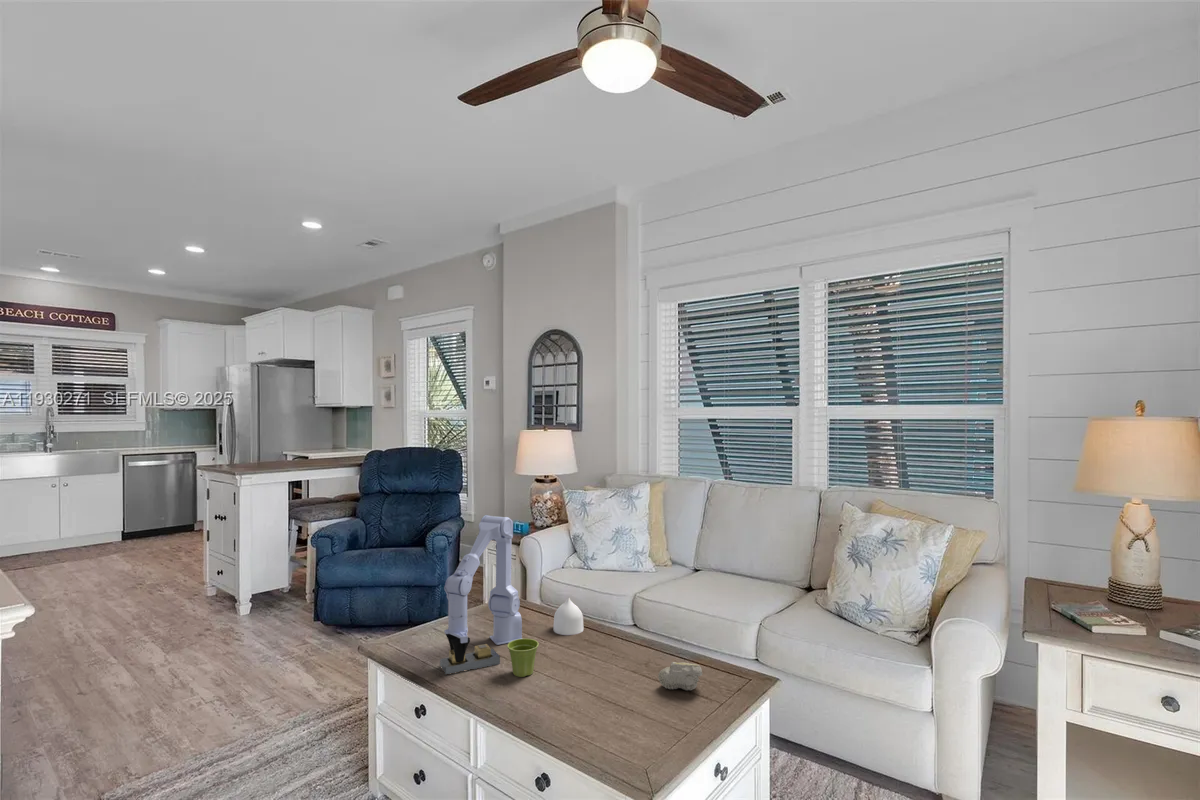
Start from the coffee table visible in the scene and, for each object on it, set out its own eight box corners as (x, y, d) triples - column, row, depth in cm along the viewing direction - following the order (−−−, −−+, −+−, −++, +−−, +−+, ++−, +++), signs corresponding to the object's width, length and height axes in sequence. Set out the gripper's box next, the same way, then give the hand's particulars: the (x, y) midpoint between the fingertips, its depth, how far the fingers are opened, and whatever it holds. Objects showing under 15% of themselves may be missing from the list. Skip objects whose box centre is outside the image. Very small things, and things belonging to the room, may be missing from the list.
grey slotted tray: (492, 656, 195) (492, 648, 195) (499, 664, 189) (499, 656, 189) (440, 666, 187) (440, 659, 187) (445, 675, 181) (446, 667, 181)
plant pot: (533, 681, 177) (533, 651, 177) (502, 678, 179) (502, 649, 179) (542, 667, 186) (542, 639, 186) (513, 665, 188) (513, 637, 188)
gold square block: (461, 663, 189) (461, 647, 189) (465, 668, 185) (465, 651, 185) (448, 666, 187) (448, 649, 187) (452, 671, 183) (452, 654, 183)
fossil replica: (654, 683, 177) (667, 702, 167) (653, 656, 176) (666, 673, 166) (692, 675, 180) (707, 693, 170) (691, 648, 179) (706, 665, 169)
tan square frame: (486, 659, 193) (486, 643, 193) (490, 664, 189) (490, 647, 189) (474, 662, 191) (474, 645, 191) (478, 666, 187) (478, 649, 187)
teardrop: (566, 637, 211) (566, 603, 211) (547, 629, 219) (547, 596, 219) (589, 630, 219) (590, 597, 219) (570, 622, 227) (570, 590, 227)
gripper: (439, 609, 191) (438, 652, 190) (451, 624, 178) (451, 670, 178) (461, 606, 194) (460, 648, 194) (474, 620, 181) (474, 665, 181)
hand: (457, 658), depth 186 cm, fingers closed on gold square block, 4 cm apart
